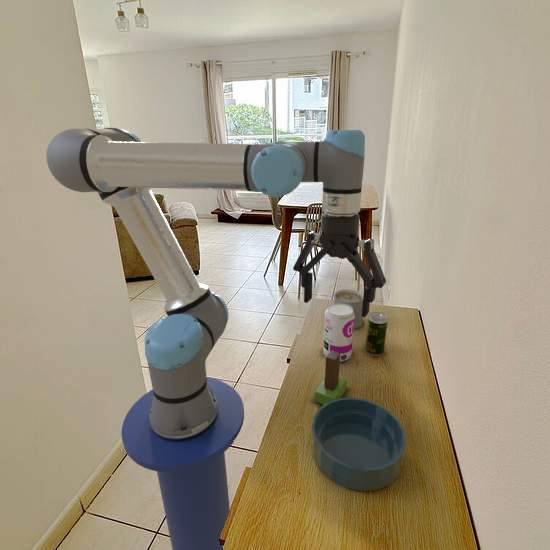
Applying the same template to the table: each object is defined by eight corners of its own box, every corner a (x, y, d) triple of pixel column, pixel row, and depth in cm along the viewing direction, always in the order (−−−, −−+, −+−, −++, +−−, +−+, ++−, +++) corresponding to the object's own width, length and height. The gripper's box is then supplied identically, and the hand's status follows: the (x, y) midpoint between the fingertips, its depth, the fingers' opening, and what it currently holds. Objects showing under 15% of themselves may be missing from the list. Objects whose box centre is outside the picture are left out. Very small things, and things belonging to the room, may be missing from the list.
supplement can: (356, 354, 104) (361, 309, 99) (339, 366, 99) (343, 319, 93) (334, 343, 110) (337, 300, 104) (317, 354, 105) (319, 309, 99)
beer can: (372, 344, 109) (376, 309, 105) (387, 351, 105) (392, 316, 101) (361, 350, 106) (364, 315, 102) (376, 358, 102) (380, 322, 98)
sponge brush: (334, 408, 84) (336, 367, 80) (314, 401, 87) (316, 360, 82) (346, 389, 91) (349, 349, 86) (327, 382, 93) (330, 343, 88)
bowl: (295, 465, 70) (296, 443, 68) (331, 407, 85) (332, 387, 82) (388, 511, 62) (392, 487, 59) (410, 438, 76) (414, 417, 74)
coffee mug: (336, 312, 128) (337, 287, 124) (364, 317, 125) (366, 291, 121) (326, 330, 117) (327, 303, 113) (357, 336, 113) (359, 309, 109)
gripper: (277, 210, 74) (278, 301, 82) (400, 224, 62) (387, 329, 70) (294, 204, 80) (294, 289, 88) (409, 215, 68) (396, 313, 76)
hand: (335, 307), depth 79 cm, fingers open, 13 cm apart
